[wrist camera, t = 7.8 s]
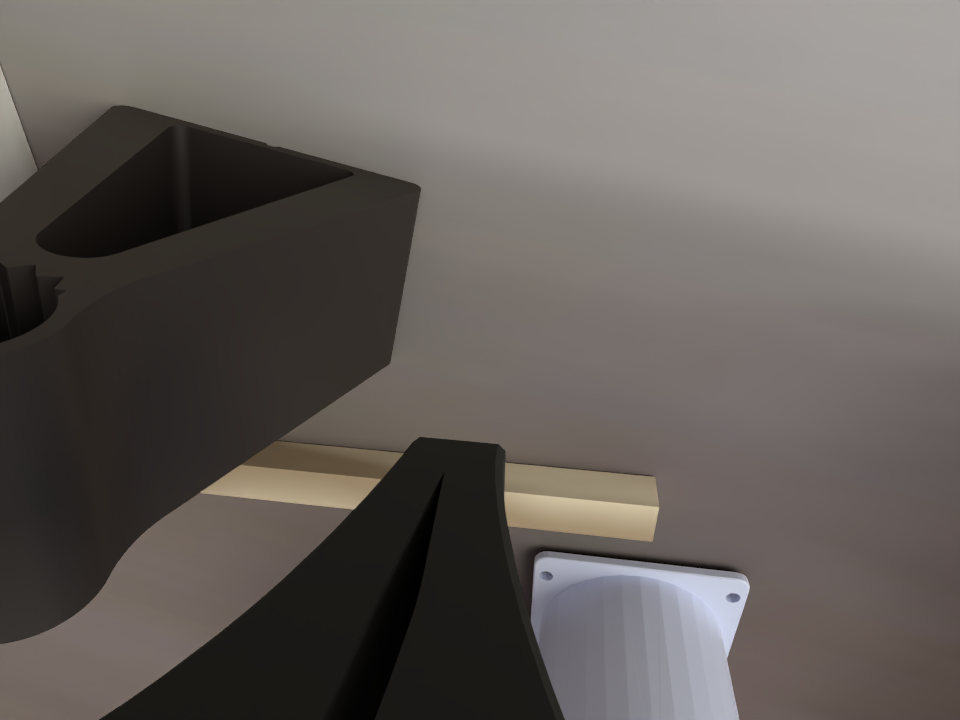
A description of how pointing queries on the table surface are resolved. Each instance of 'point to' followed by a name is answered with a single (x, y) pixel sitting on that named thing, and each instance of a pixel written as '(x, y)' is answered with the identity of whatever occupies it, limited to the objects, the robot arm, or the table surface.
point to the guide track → (355, 472)
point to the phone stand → (171, 332)
